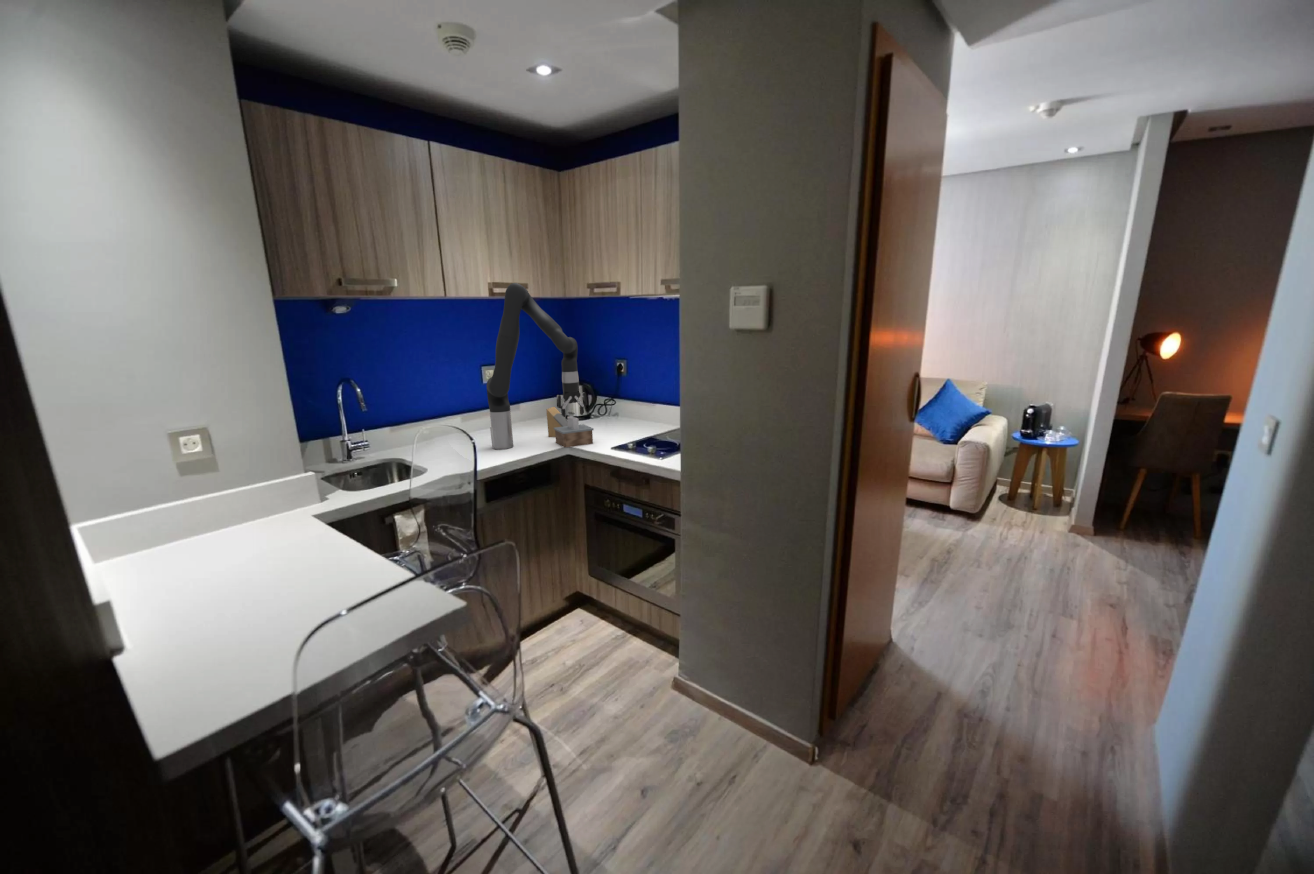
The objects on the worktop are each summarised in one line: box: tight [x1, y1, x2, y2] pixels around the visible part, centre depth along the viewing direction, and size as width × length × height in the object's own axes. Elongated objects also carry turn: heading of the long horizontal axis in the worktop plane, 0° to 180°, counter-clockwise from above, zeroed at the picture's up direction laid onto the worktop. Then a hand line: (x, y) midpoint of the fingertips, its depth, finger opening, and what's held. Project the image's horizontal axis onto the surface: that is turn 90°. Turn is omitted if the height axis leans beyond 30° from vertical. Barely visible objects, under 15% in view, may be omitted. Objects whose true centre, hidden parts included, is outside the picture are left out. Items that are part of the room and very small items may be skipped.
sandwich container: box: [546, 406, 568, 438], centre depth 264 cm, size 9×15×15 cm, turn 74°
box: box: [555, 430, 594, 448], centre depth 248 cm, size 14×12×7 cm
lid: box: [554, 415, 594, 434], centre depth 246 cm, size 15×13×7 cm
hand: (573, 415), depth 246 cm, fingers open, 8 cm apart
